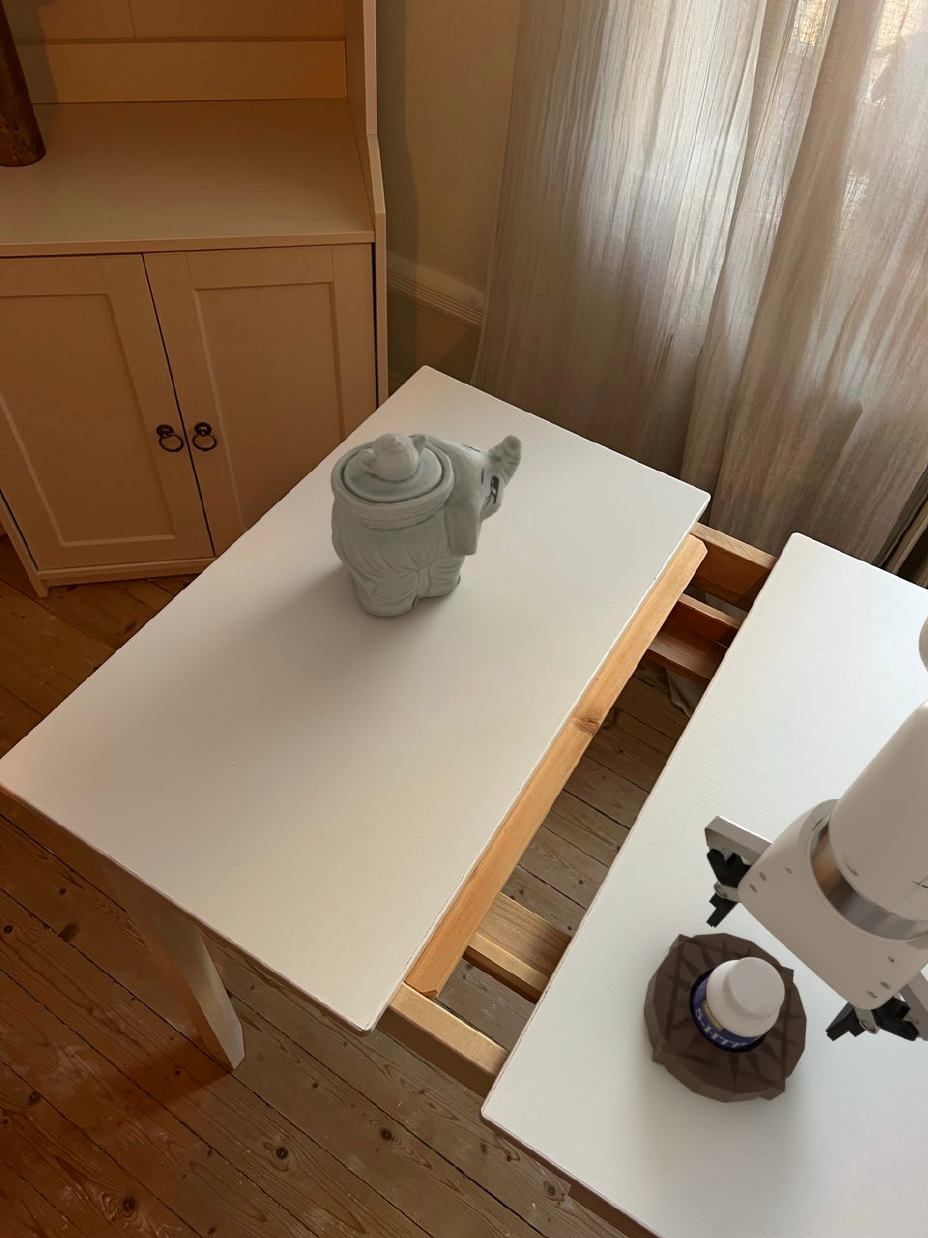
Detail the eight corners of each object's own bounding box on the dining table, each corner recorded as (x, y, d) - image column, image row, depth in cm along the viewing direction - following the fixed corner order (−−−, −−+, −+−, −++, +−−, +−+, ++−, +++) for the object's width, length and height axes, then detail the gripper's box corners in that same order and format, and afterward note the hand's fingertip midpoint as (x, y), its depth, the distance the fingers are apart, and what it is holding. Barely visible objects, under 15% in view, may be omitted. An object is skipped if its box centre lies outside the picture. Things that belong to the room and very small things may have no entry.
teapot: (508, 533, 103) (533, 394, 88) (484, 644, 93) (508, 509, 79) (358, 504, 103) (357, 361, 89) (320, 611, 94) (313, 472, 79)
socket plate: (657, 927, 78) (666, 914, 75) (796, 971, 76) (810, 959, 74) (632, 1073, 71) (642, 1063, 68) (785, 1123, 70) (800, 1115, 67)
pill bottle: (672, 1027, 73) (705, 993, 66) (702, 971, 76) (737, 932, 69) (735, 1072, 71) (776, 1041, 64) (763, 1012, 74) (805, 977, 67)
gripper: (1074, 937, 48) (922, 1026, 62) (792, 714, 55) (712, 838, 69) (1003, 1044, 45) (859, 1113, 59) (713, 792, 52) (645, 906, 65)
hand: (779, 964), depth 64 cm, fingers open, 9 cm apart
